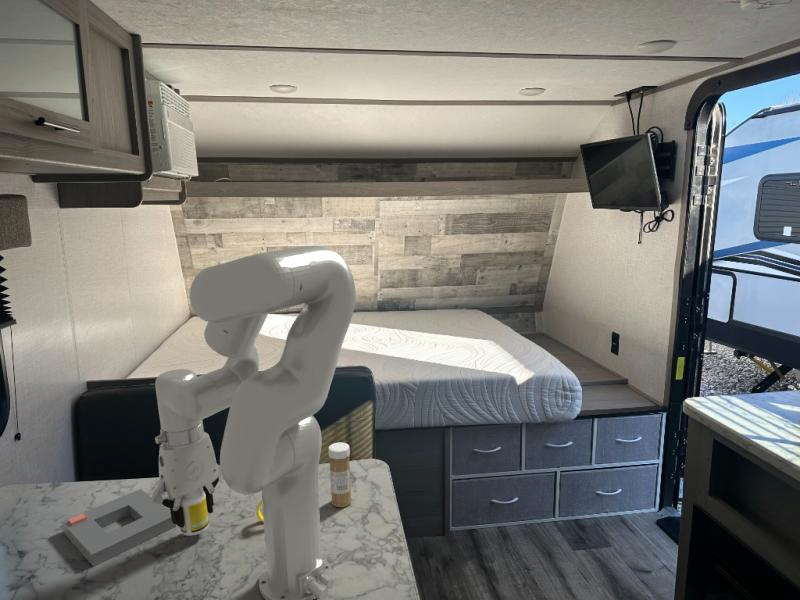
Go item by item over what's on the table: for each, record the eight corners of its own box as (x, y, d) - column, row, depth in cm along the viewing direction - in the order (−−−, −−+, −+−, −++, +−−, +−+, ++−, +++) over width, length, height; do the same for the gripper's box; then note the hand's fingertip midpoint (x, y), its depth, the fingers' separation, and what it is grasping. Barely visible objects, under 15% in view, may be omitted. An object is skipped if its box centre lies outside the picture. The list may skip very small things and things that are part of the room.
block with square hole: (176, 526, 113) (174, 513, 112) (93, 566, 101) (91, 551, 101) (141, 498, 123) (140, 486, 123) (63, 532, 112) (61, 518, 111)
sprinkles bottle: (352, 496, 123) (350, 441, 120) (350, 508, 118) (347, 451, 115) (332, 496, 123) (330, 441, 120) (329, 508, 118) (326, 451, 116)
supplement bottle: (213, 520, 112) (208, 476, 110) (201, 536, 107) (196, 491, 105) (188, 520, 113) (183, 476, 111) (175, 536, 107) (169, 490, 105)
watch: (257, 527, 113) (253, 501, 112) (260, 519, 115) (256, 494, 114) (286, 524, 113) (282, 498, 112) (288, 516, 116) (285, 491, 114)
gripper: (147, 455, 97) (160, 546, 100) (232, 423, 110) (241, 505, 113) (129, 444, 102) (142, 531, 105) (213, 414, 115) (222, 493, 118)
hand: (193, 516), depth 109 cm, fingers closed on supplement bottle, 5 cm apart
